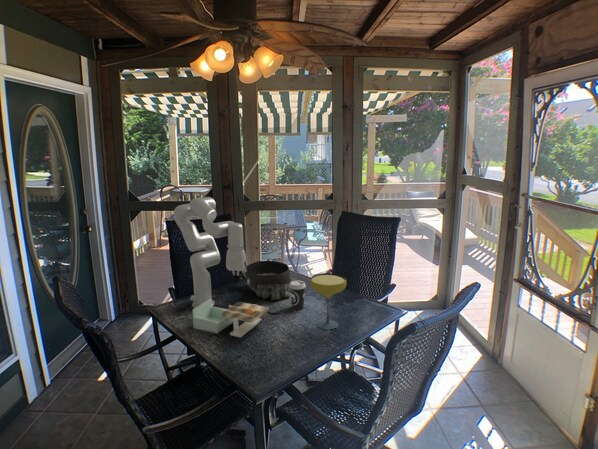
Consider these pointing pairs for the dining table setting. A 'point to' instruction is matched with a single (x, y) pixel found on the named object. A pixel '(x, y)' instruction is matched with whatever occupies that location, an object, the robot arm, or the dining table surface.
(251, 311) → the orange ball
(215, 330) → the bin
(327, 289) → the cocktail glass
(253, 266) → the basket
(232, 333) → the stand
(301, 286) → the coffee cup
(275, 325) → the dining table surface
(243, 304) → the beige flat panel
